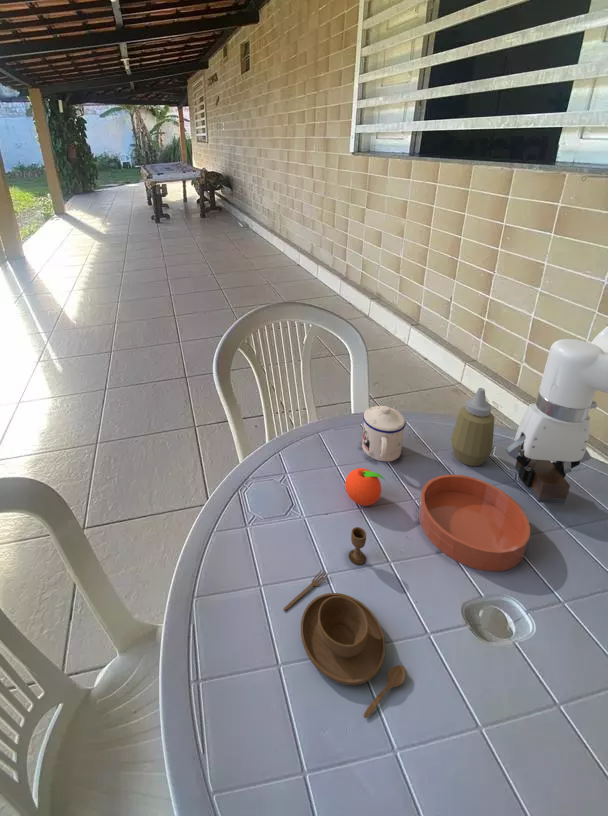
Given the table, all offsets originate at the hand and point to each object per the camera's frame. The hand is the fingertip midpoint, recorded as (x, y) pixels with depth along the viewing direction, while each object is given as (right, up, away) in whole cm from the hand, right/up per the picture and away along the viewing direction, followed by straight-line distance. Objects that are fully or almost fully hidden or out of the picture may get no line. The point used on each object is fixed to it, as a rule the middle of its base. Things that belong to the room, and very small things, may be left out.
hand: (539, 482), depth 83 cm
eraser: (0, -1, 0) cm, 1 cm away
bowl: (-17, -6, -5) cm, 18 cm away
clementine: (-34, -5, +3) cm, 34 cm away
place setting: (-42, -14, -19) cm, 48 cm away
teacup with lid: (-26, 0, +15) cm, 30 cm away
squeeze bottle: (-7, 0, +12) cm, 14 cm away
